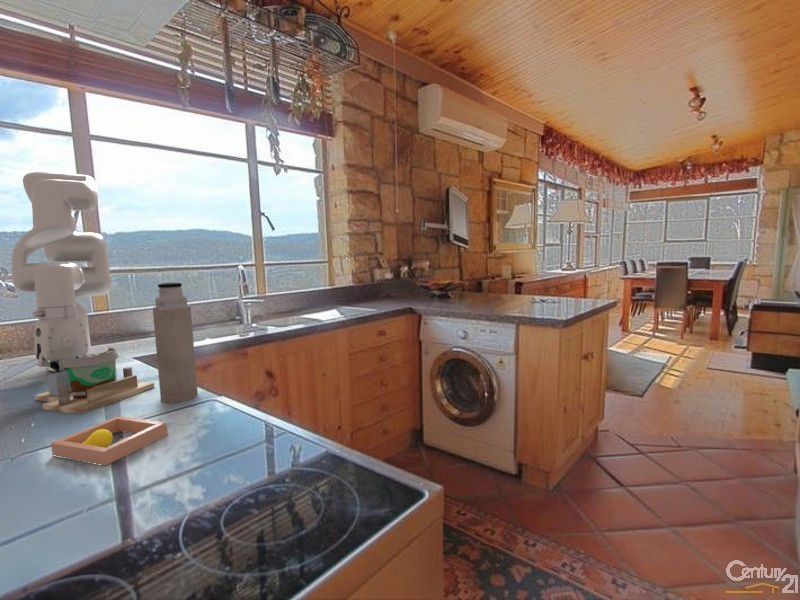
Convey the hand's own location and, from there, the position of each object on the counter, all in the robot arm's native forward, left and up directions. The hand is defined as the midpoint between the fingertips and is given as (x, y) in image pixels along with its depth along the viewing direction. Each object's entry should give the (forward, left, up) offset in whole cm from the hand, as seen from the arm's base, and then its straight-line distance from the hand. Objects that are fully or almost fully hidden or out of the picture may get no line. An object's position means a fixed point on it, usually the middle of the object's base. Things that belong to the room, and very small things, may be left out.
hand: (66, 384), depth 107 cm
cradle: (+8, 0, -2) cm, 8 cm away
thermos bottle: (+31, +5, -3) cm, 32 cm away
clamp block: (+3, 0, -1) cm, 3 cm away
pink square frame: (+40, -19, -2) cm, 44 cm away
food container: (+12, 0, -1) cm, 12 cm away
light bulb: (+38, -21, -3) cm, 44 cm away
